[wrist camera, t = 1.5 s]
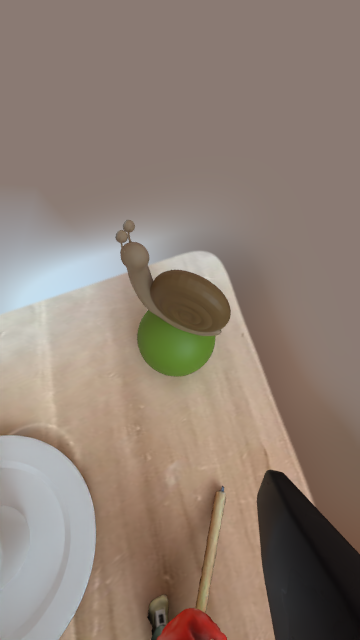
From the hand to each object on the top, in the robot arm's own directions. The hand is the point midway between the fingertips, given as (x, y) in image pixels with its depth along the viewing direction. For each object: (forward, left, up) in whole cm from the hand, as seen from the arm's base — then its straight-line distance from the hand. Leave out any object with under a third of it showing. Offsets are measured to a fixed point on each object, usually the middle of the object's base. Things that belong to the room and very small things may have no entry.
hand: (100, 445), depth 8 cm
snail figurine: (+7, -4, -14) cm, 16 cm away
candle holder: (-4, +8, -14) cm, 16 cm away
